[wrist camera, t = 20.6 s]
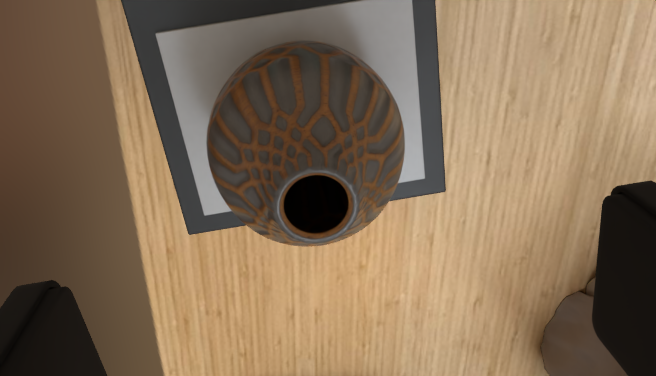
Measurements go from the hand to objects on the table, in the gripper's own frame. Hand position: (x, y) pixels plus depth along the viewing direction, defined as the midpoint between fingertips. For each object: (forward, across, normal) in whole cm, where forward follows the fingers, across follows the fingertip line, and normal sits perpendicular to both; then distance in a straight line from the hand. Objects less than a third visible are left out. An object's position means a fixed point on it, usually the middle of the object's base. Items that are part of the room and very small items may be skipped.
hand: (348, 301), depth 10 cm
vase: (+14, 0, +1) cm, 14 cm away
